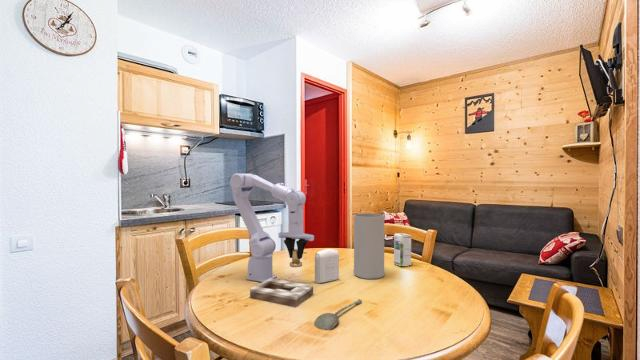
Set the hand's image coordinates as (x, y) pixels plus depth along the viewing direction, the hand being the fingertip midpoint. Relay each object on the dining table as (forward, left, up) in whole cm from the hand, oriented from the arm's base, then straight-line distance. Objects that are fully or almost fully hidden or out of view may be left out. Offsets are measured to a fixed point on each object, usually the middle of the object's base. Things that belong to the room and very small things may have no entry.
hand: (295, 257), depth 119 cm
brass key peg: (0, 0, -3) cm, 3 cm away
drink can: (+32, +42, -10) cm, 54 cm away
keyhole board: (+2, -13, -10) cm, 16 cm away
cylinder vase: (+22, +22, -10) cm, 33 cm away
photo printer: (+9, +8, -10) cm, 16 cm away
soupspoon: (+26, -17, -11) cm, 33 cm away
